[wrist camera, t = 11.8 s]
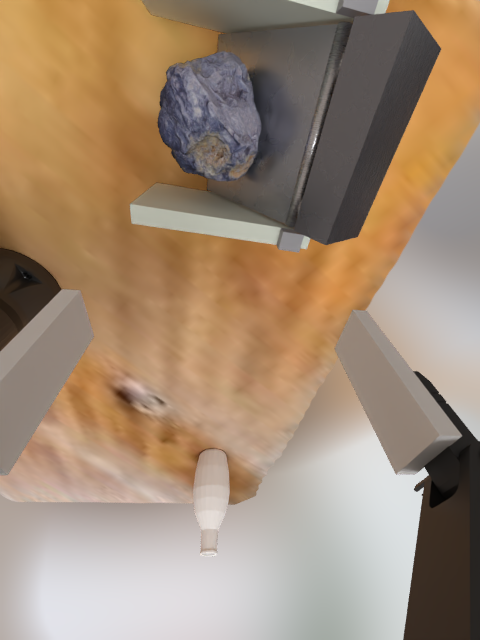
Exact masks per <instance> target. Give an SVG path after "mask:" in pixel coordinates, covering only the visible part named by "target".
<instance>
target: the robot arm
mask: <svg viewBox="0 0 480 640" xmlns="http://www.w3.org/2000/svg"><path fill="white" fill-rule="evenodd" d="M93 337H94V334H93V331H92V327H91V324H90V321H89V317H88V314H87V311H86V307H85V304H84V301H83V297H82V294H81V291H80V290H69V289H62V290H61V289H60V287H59V285H58V284H57V282H56V281H55V279H54V278H53V277H52V276H51V275H50V274H49V273H48V272H47V271H46V270H45V269H44V268H43V267H42V266H40V265H39V264H38V263H36V262H35V261H33V260H31V259H30V258H28V257H26V256H24V255H22V254H19V253H17V252H14V251H10V250H6V249H1V248H0V475H8V474H9V472H10V471H11V469H12V468H13V466H14V464H15V463H16V461H17V460H18V458H19V456H20V455H21V453H22V451H23V450H24V448H25V447H26V445H27V443H28V442H29V440H30V439H31V437H32V435H33V434H34V432H35V431H36V429H37V427H38V426H39V424H40V422H41V421H42V419H43V418H44V416H45V414H46V413H47V411H48V410H49V408H50V406H51V405H52V403H53V402H54V400H55V398H56V397H57V395H58V393H59V392H60V390H61V389H62V387H63V385H64V384H65V382H66V381H67V379H68V377H69V376H70V374H71V373H72V371H73V369H74V368H75V366H76V364H77V363H78V361H79V360H80V358H81V356H82V355H83V353H84V352H85V350H86V348H87V347H88V345H89V344H90V342H91V340H92V339H93ZM335 351H336V353H337V355H338V357H339V359H340V361H341V363H342V365H343V367H344V369H345V371H346V374H347V376H348V378H349V380H350V381H351V384H352V386H353V388H354V390H355V392H356V394H357V396H358V398H359V400H360V402H361V404H362V406H363V408H364V410H365V412H366V414H367V416H368V418H369V420H370V422H371V424H372V427H373V429H374V431H375V433H376V435H377V437H378V438H379V441H380V443H381V445H382V447H383V449H384V451H385V453H386V455H387V457H388V459H389V461H390V463H391V465H392V467H393V469H394V471H395V473H396V475H397V474H398V475H399V474H416V473H418V472H419V471H420V470H421V469H422V468H424V467H425V469H426V470H427V472H428V474H429V476H427V477H426V478H425V479H424V480H422V481H421V482H420V483H418V484H417V485H416V486H415V488H414V490H415V491H416V492H417V491H419V490H420V489H421V488H423V487H424V491H423V494H422V496H423V499H422V506H421V513H420V521H419V528H418V536H417V543H416V550H415V558H414V565H413V573H412V580H411V587H410V594H409V602H408V609H407V617H406V624H405V631H404V639H403V640H480V441H478V440H477V439H476V438H475V437H474V436H473V434H472V433H471V432H470V431H469V430H468V428H467V427H466V426H465V424H464V423H463V422H462V421H461V419H460V418H459V417H458V416H457V415H456V413H455V412H454V411H453V410H452V408H451V407H450V406H449V404H446V401H445V400H444V398H443V397H442V396H441V395H440V394H438V393H439V392H438V391H437V389H436V388H435V387H434V386H433V384H432V383H431V382H430V381H429V380H427V379H426V378H425V377H424V376H423V375H422V374H420V373H419V372H417V371H412V369H411V368H410V367H409V365H408V364H407V363H406V362H405V360H404V359H403V358H402V356H401V355H400V354H399V352H398V351H397V350H396V348H395V347H394V346H393V344H392V343H391V342H390V341H389V339H388V338H387V337H386V335H385V334H384V333H383V331H382V330H381V329H380V328H379V326H378V325H377V324H376V322H375V321H374V320H373V318H372V317H371V316H370V314H369V313H368V312H367V311H361V310H352V312H351V315H350V317H349V319H348V321H347V323H346V325H345V328H344V330H343V332H342V334H341V336H340V338H339V340H338V343H337V345H336V347H335Z"/></svg>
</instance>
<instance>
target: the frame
mask: <svg viewBox="0 0 480 640" xmlns="http://www.w3.org/2000/svg"><path fill="white" fill-rule="evenodd" d="M141 1H142V2H143V4H144V5H145V6H146V8H147V9H148V11H149V12H150V14H151V15H154V16H158V17H162V18H166V19H170V20H174V21H178V22H182V23H186V24H190V25H194V26H198V27H202V28H206V29H210V30H214V31H218V32H222V33H226V34H228V33H240V32H251V31H262V30H274V29H285V28H296V27H308V26H319V25H330V24H338V23H339V22H350V23H353V21H354V18H355V16H363V15H373V14H383V13H385V12H386V9H387V6H388V3H389V0H141ZM130 211H131V222H132V224H138V225H145V226H152V227H159V228H166V229H172V230H179V231H186V232H193V233H200V234H206V235H213V236H220V237H227V238H234V239H240V240H247V241H254V242H261V243H268V244H274V245H277V247H278V249H279V250H286V251H293V252H299V251H300V248H301V249H307V247H308V244H309V241H310V238H309V237H306V236H304V235H302V234H300V233H297V232H295V231H294V227H289V226H287V225H285V224H284V223H282V222H280V221H278V220H275V219H273V218H271V217H268V216H266V215H264V214H262V213H259V212H257V211H255V210H252V209H250V208H248V207H246V206H243V205H241V204H239V203H236V202H234V201H232V200H230V199H227V198H225V197H223V196H220V195H218V194H216V193H214V192H209V191H203V190H197V189H192V188H186V187H180V186H174V185H168V184H162V183H155V184H154V185H153V186H152V187H150V188H149V189H148V190H147V191H145V192H144V193H143V194H142V195H140V196H139V197H138V198H137V199H135V200H134V201H133V202H132V203H130Z"/></svg>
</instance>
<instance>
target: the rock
mask: <svg viewBox="0 0 480 640" xmlns="http://www.w3.org/2000/svg"><path fill="white" fill-rule="evenodd" d="M166 75H167V82H166V84H165V86H164V88H163V90H162V91H161V95H160V106H161V110H160V113H159V117H158V128H159V132H160V135H161V138H162V140H163V142H164V143H165V144H166V145H167V146H168V147H170V148H171V149H172V152H171V153H172V156H173V157H174V158H175V159H176V161H177V163H178V164H179V165H180V168H182V170H183V171H184V172H186V173H192V174H198V175H200V176H203V177H205V178H208V179H213V180H216V181H234V180H237V179H239V178H241V177H242V176H244V174H245V173H246V172H247V170H248V168H249V167H250V166H251V165H252V163H253V161H254V159H255V157H256V155H257V151H258V140H259V136H260V132H261V121H260V116H259V113H258V111H257V110H256V106H255V103H254V94H253V87H252V82H251V81H250V78H249V74H248V71H247V68H246V66H245V64H244V63H242V62H241V59H240V58H239V57H238V56H236V55H235V54H233V53H231V52H225V51H221V52H218V53H215V54H212V55H210V56H207V57H204V58H198V59H195V60H192V61H191V62H190V61H187V62H186V63H185V64H183V63H176V64H175V65H173V66H171V67H169V69H168V70H167V72H166Z"/></svg>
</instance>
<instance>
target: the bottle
mask: <svg viewBox="0 0 480 640" xmlns="http://www.w3.org/2000/svg"><path fill="white" fill-rule="evenodd" d="M229 493H230V490H229V471H228V464H227V457H226V454H225V452H224V451H222V450H219V449H207V450H204V451H203V452H202V453H201V454H200V456H199V460H198V464H197V469H196V473H195V481H194V488H193V504H194V510H195V516H196V518H197V521H198V524H199V526H200V529H201V552H200V555H201V556H215V555H217V538H218V530H219V527H220V525H221V523H222V521H223V518H224V517H225V514H226V510H227V505H228V501H229Z"/></svg>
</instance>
